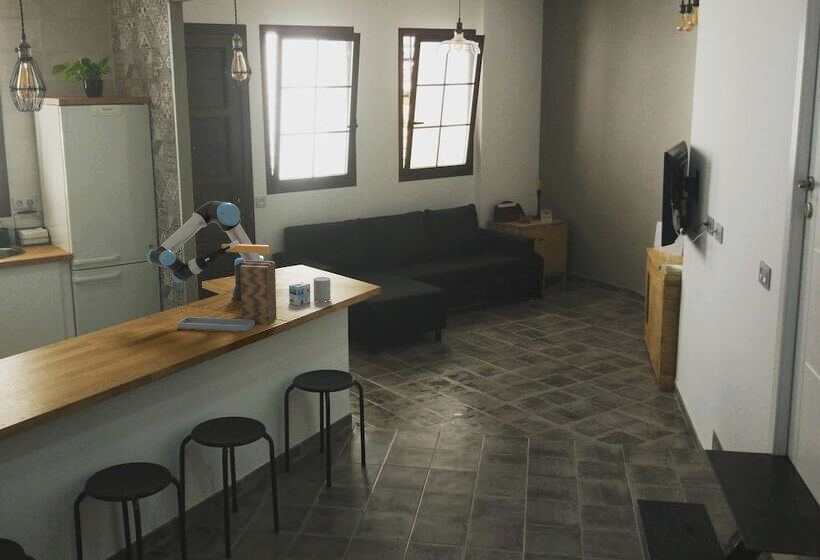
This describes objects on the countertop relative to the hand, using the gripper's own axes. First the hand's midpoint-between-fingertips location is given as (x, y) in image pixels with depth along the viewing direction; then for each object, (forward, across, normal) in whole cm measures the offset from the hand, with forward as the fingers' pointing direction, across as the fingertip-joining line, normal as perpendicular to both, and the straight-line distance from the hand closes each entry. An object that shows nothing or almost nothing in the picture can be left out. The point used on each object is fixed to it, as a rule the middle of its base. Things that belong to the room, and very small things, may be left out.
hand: (236, 242), depth 442 cm
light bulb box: (-2, -40, -46) cm, 61 cm away
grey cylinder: (+8, -48, -52) cm, 71 cm away
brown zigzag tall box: (-11, 0, -40) cm, 42 cm away
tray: (-26, +15, -32) cm, 44 cm away
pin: (+2, 0, -6) cm, 6 cm away
